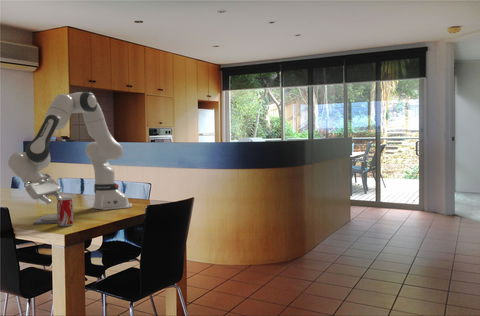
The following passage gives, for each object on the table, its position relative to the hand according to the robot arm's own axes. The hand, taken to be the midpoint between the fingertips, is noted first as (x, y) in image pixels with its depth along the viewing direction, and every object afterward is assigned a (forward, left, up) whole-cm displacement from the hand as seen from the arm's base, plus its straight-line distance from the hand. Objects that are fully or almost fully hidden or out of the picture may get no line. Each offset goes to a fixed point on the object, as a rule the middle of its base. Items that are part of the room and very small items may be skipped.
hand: (55, 201), depth 201 cm
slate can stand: (+3, -12, -12) cm, 17 cm away
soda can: (-5, +2, -12) cm, 13 cm away
